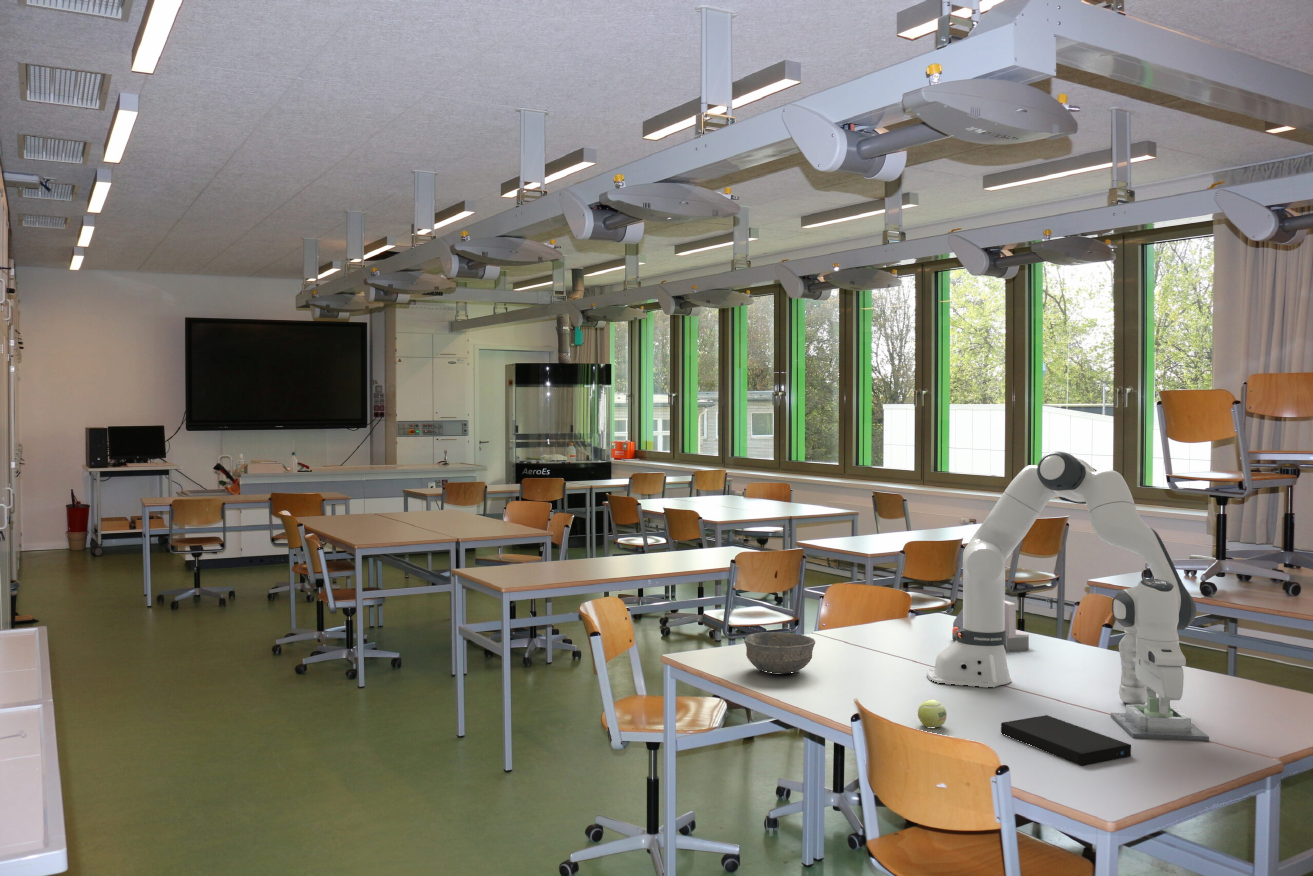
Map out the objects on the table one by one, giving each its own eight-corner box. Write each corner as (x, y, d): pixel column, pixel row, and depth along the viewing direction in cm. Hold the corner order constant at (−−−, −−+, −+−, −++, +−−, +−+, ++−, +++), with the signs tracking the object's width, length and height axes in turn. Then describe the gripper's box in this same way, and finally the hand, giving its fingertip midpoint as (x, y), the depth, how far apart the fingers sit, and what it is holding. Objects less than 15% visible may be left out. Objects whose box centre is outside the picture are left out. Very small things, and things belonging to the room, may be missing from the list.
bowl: (830, 674, 273) (830, 639, 273) (779, 686, 261) (779, 650, 261) (780, 660, 290) (779, 628, 290) (729, 671, 277) (729, 637, 277)
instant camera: (1033, 652, 300) (1033, 604, 299) (969, 653, 299) (968, 605, 299) (1007, 637, 321) (1006, 593, 321) (946, 638, 320) (946, 594, 320)
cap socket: (1133, 737, 215) (1132, 720, 215) (1110, 716, 231) (1110, 700, 231) (1209, 741, 213) (1208, 723, 213) (1181, 719, 228) (1181, 703, 228)
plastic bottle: (1137, 709, 237) (1136, 629, 237) (1113, 702, 243) (1112, 624, 243) (1153, 705, 240) (1153, 627, 240) (1129, 699, 246) (1129, 622, 246)
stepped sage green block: (1149, 727, 219) (1149, 701, 219) (1140, 719, 225) (1140, 694, 225) (1177, 728, 218) (1177, 702, 218) (1167, 720, 224) (1167, 695, 224)
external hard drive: (1047, 727, 224) (1047, 715, 224) (1131, 758, 203) (1131, 744, 203) (1001, 735, 219) (1001, 722, 219) (1082, 768, 198) (1082, 753, 197)
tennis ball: (937, 703, 220) (948, 697, 226) (910, 702, 225) (922, 696, 230) (941, 731, 220) (952, 724, 225) (914, 730, 224) (926, 723, 229)
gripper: (1128, 639, 232) (1128, 696, 233) (1158, 659, 212) (1158, 721, 212) (1155, 640, 231) (1155, 697, 232) (1189, 660, 211) (1189, 722, 211)
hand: (1157, 709), depth 222 cm, fingers open, 5 cm apart
